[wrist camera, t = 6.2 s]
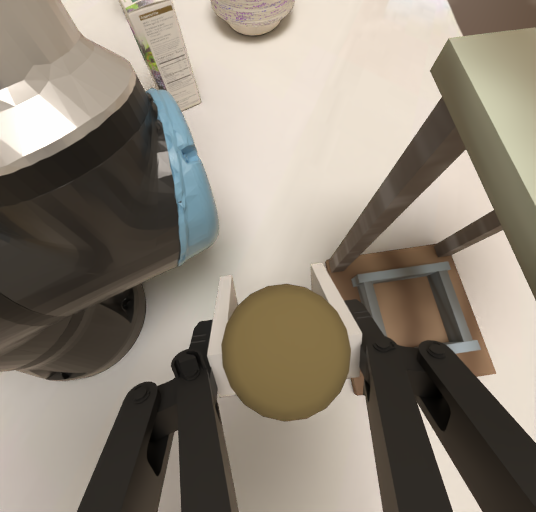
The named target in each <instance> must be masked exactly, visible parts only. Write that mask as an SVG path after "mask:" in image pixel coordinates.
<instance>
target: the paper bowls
mask: <svg viewBox="0 0 536 512" xmlns="http://www.w3.org/2000/svg"><path fill="white" fill-rule="evenodd" d="M294 2H295V0H211V4H212V8H213V10H214V11H215V13H216V14H217V15H218V16H219V17H220V18H222V19H223V20H225V21H227V22H228V24H229V25H230V26H231V27H232V28H233V29H234V30H235V31H237V32H239V33H241V34H245V35H261V34H265V33H267V32H270V31H271V30H273V29H274V28H275V27H276V26H277V25H278V24H279V22H280V20H281V19H283V18H284V17H285V16H286V15H288V14H289V13H290V11H291V10H292V8H293V6H294Z"/></svg>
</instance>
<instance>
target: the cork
mask: <svg viewBox="0 0 536 512" xmlns="http://www.w3.org/2000/svg"><path fill="white" fill-rule="evenodd" d="M221 347H222V364H223V368H224V371H225V374H226V376H227V379H228V382H229V384H230V387H231V388H232V389H233V391H234V392H235V393H236V395H237V396H238V397H239V398H240V400H241V401H242V402H243V403H244V404H245V405H246V406H248V407H249V408H251V409H252V410H254V411H255V412H257V413H258V414H260V415H261V416H263V417H268V418H272V419H276V420H281V421H292V420H300V419H307V418H309V417H310V416H312V415H314V414H316V413H318V412H320V411H322V410H324V409H326V408H327V406H328V405H329V404H330V403H331V402H332V401H333V400H334V399H335V398H336V396H337V395H338V394H339V393H340V392H341V390H342V387H343V385H344V383H345V380H346V378H347V376H348V373H349V368H350V357H351V347H350V342H349V338H348V333H347V329H346V327H345V325H344V323H343V321H342V319H341V318H340V316H339V314H338V312H337V311H336V310H335V309H334V308H333V307H332V306H331V305H330V304H329V303H328V302H327V301H326V300H325V299H324V298H323V297H322V296H320V295H318V294H317V293H315V292H313V291H311V290H309V289H307V288H305V287H300V286H295V285H290V284H282V285H274V286H267V287H265V288H263V289H261V290H259V291H256V292H254V293H252V294H250V295H249V296H248V297H247V298H246V299H245V300H244V301H243V302H242V303H240V304H239V305H238V306H237V307H236V309H235V310H234V312H233V314H232V315H231V317H230V319H229V321H228V322H227V324H226V328H225V332H224V336H223V340H222V344H221Z"/></svg>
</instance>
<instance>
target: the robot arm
mask: <svg viewBox="0 0 536 512" xmlns="http://www.w3.org/2000/svg"><path fill="white" fill-rule="evenodd" d="M218 233H219V219H218V213H217V209H216V205H215V201H214V197H213V194H212V191H211V187H210V184H209V181H208V178H207V175H206V172H205V170H204V167H203V164H202V162H201V160H200V158H199V157H198V156H197V150H196V147H195V145H194V142H193V138H192V135H191V132H190V130H189V127H188V125H187V123H186V121H185V118H184V116H183V114H182V112H181V110H180V108H179V106H178V104H177V102H176V101H175V99H174V98H173V96H172V95H171V94H170V93H169V92H168V91H166V90H156V89H154V88H151V89H149V90H147V91H146V92H145V91H144V89H143V87H142V85H141V83H140V81H139V79H138V77H137V75H136V73H135V71H134V69H133V67H132V66H131V64H130V62H129V61H127V60H126V59H125V58H123V57H121V56H119V55H117V54H115V53H114V52H112V51H110V50H108V49H106V48H104V47H102V46H100V45H98V44H96V43H94V42H92V41H90V40H89V39H87V38H85V37H84V36H83V35H82V34H81V33H80V31H79V30H78V29H77V27H76V25H75V24H74V22H73V20H72V19H71V17H70V15H69V14H68V12H67V10H66V9H65V7H64V5H63V4H62V2H61V0H0V372H4V371H12V370H16V371H20V372H23V373H26V374H30V375H33V376H37V377H40V378H43V379H47V380H53V381H69V380H75V379H81V378H86V377H90V376H93V375H96V374H98V373H101V372H103V371H105V370H106V369H108V368H110V367H111V366H113V365H114V364H115V363H117V362H118V361H119V360H120V359H121V358H122V357H123V356H124V355H125V354H126V353H127V352H128V351H129V349H130V348H131V347H132V345H133V344H134V342H135V341H136V339H137V337H138V335H139V333H140V331H141V328H142V325H143V322H144V318H145V310H146V301H145V294H144V290H143V287H142V285H141V283H142V282H144V281H147V280H149V279H151V278H153V277H155V276H157V275H159V274H161V273H164V272H166V271H168V270H170V269H172V268H174V267H176V266H180V265H182V264H183V263H184V262H185V261H186V260H187V259H189V258H191V257H193V256H194V255H196V254H198V253H200V252H201V251H203V250H205V249H207V248H208V247H210V246H211V245H212V244H213V243H214V242H215V240H216V239H217V236H218ZM311 286H312V291H313V292H315V293H317V294H318V295H320V296H322V297H323V298H324V299H325V300H326V301H327V302H328V303H329V304H330V305H331V306H332V307H333V308H334V309H335V310H336V311H337V312H338V314H339V316H340V318H341V319H342V321H343V323H344V325H345V327H346V329H347V333H348V338H349V342H350V347H351V357H350V368H349V373H348V376H347V378H346V379H348V378H355V377H359V376H360V370H361V372H362V374H363V376H364V385H363V395H365V397H366V404H367V410H368V417H369V423H370V430H371V436H372V443H373V449H374V456H375V462H376V469H377V475H378V481H379V488H380V494H381V501H382V507H383V512H453V510H452V507H451V504H450V501H449V498H448V495H447V492H446V489H445V486H444V483H443V480H442V477H441V474H440V471H439V468H438V465H437V462H436V459H435V456H434V453H433V450H432V447H431V444H430V441H429V438H428V435H427V432H426V429H425V426H424V423H423V420H422V417H421V414H420V411H419V408H418V405H419V406H420V408H421V410H422V411H423V413H424V415H425V416H426V418H427V420H428V421H429V423H430V425H431V426H432V428H433V430H434V431H435V433H436V435H437V436H438V438H439V440H440V441H441V443H442V445H443V446H444V448H445V450H446V451H447V453H448V455H449V456H450V458H451V460H452V461H453V463H454V465H455V466H456V468H457V470H458V471H459V473H460V475H461V476H462V478H463V480H464V481H465V483H466V485H467V486H468V488H469V490H470V491H471V493H472V495H473V496H474V498H475V500H476V501H477V503H478V505H479V506H480V508H481V510H482V511H483V512H536V443H535V442H534V441H533V440H532V438H531V437H530V436H529V435H528V434H527V433H526V432H525V431H524V429H523V428H522V427H521V426H520V425H519V424H518V423H517V422H516V421H515V419H514V418H513V417H512V416H511V415H510V414H509V413H508V412H507V411H506V409H505V408H504V407H503V406H502V405H501V404H500V403H499V402H498V401H497V399H496V398H495V397H494V396H493V395H492V394H491V393H490V392H489V390H488V389H487V388H486V387H485V386H484V385H483V384H482V383H481V382H480V380H479V379H478V378H477V377H476V376H475V375H474V374H473V373H472V372H471V370H470V369H469V368H468V367H467V366H466V365H465V364H464V363H463V362H462V360H461V359H460V358H459V357H458V356H457V355H456V354H455V353H454V351H453V350H452V349H450V348H449V347H448V346H447V345H445V344H443V343H441V342H438V341H434V340H426V341H423V342H421V343H420V344H419V347H418V348H414V347H405V346H400V345H397V344H396V342H395V341H393V340H392V339H391V338H388V337H386V336H384V334H383V333H382V331H381V330H380V328H379V327H378V325H377V324H376V322H375V321H374V319H373V318H372V317H371V315H370V313H369V312H368V310H367V309H366V307H365V306H364V304H362V303H361V302H360V301H358V300H357V299H353V300H345V301H344V300H343V299H342V297H341V295H340V293H339V292H338V290H337V288H336V286H335V284H334V283H333V281H332V279H331V277H330V276H329V274H328V272H327V270H326V269H325V267H324V265H323V263H314V264H311ZM237 306H238V303H237V298H236V293H235V288H234V283H233V278H232V275H227V276H220V280H219V287H218V293H217V299H216V305H215V311H214V317H213V320H208V321H201V322H199V323H198V324H197V326H196V327H195V328H194V331H193V335H192V339H191V343H190V347H189V349H186V350H184V351H182V352H180V353H179V354H177V355H176V356H175V357H174V359H173V360H172V363H171V367H172V370H173V372H174V375H175V377H176V378H174V379H173V380H171V381H169V382H166V383H164V384H162V385H159V386H156V384H155V383H153V382H144V383H140V384H138V385H137V386H135V387H134V388H133V389H131V390H130V391H129V392H128V394H127V395H126V397H125V399H124V401H123V404H122V406H121V408H120V411H119V413H118V416H117V418H116V420H115V423H114V425H113V427H112V430H111V432H110V435H109V437H108V439H107V442H106V444H105V446H104V449H103V451H102V454H101V456H100V458H99V461H98V463H97V465H96V468H95V470H94V472H93V475H92V477H91V480H90V482H89V484H88V487H87V489H86V491H85V494H84V496H83V499H82V501H81V503H80V506H79V508H78V510H77V512H157V511H158V506H159V501H160V497H161V492H162V487H163V482H164V478H165V473H166V468H167V464H168V459H169V454H170V449H171V445H172V440H173V435H174V432H175V431H177V430H178V436H179V462H180V487H181V512H239V510H238V505H237V500H236V495H235V490H234V484H233V479H232V474H231V469H230V464H229V458H228V453H227V448H226V443H225V438H224V432H223V427H222V422H221V417H220V412H219V406H218V403H217V391H218V394H219V397H226V396H233V395H236V393H235V392H234V391H233V389H232V388H231V387H230V384H229V382H228V379H227V376H226V374H225V371H224V368H223V364H222V347H221V344H222V340H223V336H224V332H225V328H226V324H227V322H228V321H229V319H230V317H231V315H232V314H233V312H234V310H235V309H236V307H237ZM416 401H417V402H416ZM417 403H418V405H417Z"/></svg>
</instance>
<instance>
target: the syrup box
mask: <svg viewBox="0 0 536 512" xmlns="http://www.w3.org/2000/svg"><path fill="white" fill-rule="evenodd" d="M119 2H120V4H121V7H122V9H123V11H124V13H125V16H126V18H127V20H128V23H129V25H130V28H131V30H132V32H133V35H134V37H135V39H136V42H137V44H138V46H139V49H140V51H141V53H142V56H143V58H144V60H145V62H146V65H147V67H148V69H149V71H150V73H151V76H152V78H153V80H154V82H155V84H156V87H157V89H158V90H166V91H168V92H169V93H170V94H171V95H172V96H173V98H174V99H175V101H176V102H177V104H178V106H179V108H180V110H181V111H183V110H185V109H188V108H190V107H192V106H194V105H197V104H199V103H201V99H200V96H199V92H198V89H197V85H196V82H195V78H194V75H193V71H192V68H191V64H190V61H189V58H188V54H187V51H186V47H185V43H184V40H183V36H182V33H181V29H180V26H179V23H178V19H177V16H176V13H175V9H174V6H173V2H172V0H119Z"/></svg>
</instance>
